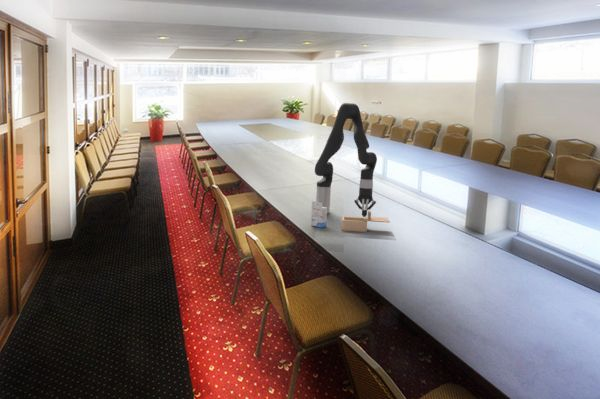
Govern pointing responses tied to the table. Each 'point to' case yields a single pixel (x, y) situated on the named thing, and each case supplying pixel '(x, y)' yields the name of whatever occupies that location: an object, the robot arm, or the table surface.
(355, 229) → the open wooden box
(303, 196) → the table surface
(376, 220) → the lid
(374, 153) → the robot arm
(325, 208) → the ink box
